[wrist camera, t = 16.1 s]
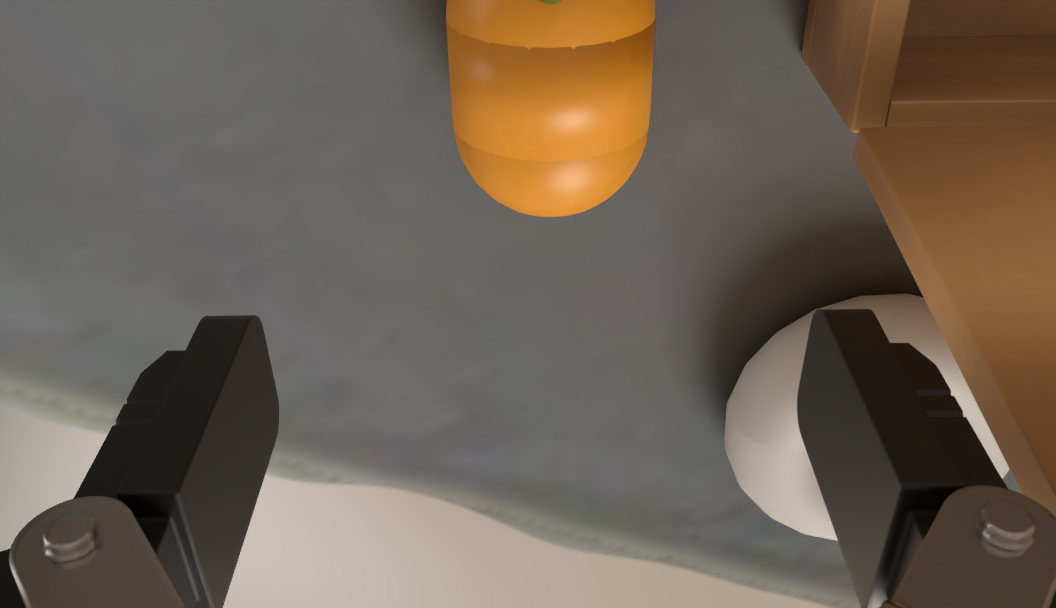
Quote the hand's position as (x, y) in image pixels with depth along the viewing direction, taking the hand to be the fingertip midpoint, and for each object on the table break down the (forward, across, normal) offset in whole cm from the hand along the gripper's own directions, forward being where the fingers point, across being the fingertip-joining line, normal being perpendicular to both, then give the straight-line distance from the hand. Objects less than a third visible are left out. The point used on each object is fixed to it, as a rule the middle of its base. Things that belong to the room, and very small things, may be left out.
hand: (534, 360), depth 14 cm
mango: (+15, 0, 0) cm, 15 cm away
